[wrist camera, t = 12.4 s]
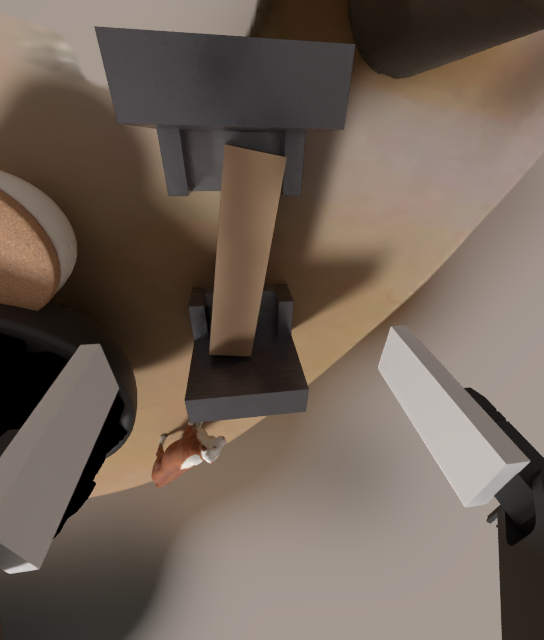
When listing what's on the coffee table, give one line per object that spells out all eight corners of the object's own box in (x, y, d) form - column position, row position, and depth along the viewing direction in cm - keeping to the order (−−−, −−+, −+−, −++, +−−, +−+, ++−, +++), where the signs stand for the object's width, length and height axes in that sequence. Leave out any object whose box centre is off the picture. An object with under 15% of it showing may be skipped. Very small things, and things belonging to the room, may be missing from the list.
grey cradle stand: (296, 87, 22) (355, 44, 12) (283, 334, 35) (305, 411, 25) (159, 81, 20) (94, 26, 10) (201, 340, 34) (190, 423, 24)
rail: (273, 153, 23) (286, 157, 18) (247, 322, 31) (250, 356, 27) (225, 143, 22) (224, 144, 17) (212, 319, 31) (209, 354, 26)
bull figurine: (230, 407, 42) (231, 459, 35) (172, 447, 45) (162, 501, 38) (209, 394, 39) (206, 447, 33) (149, 437, 43) (135, 493, 36)
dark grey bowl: (-96, 321, 28) (-511, 556, 12) (47, 217, 24) (-276, 356, 9) (75, 418, 38) (-28, 608, 23) (190, 355, 35) (161, 528, 19)
